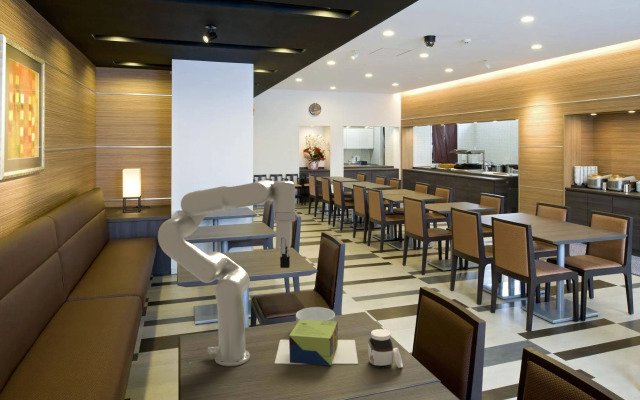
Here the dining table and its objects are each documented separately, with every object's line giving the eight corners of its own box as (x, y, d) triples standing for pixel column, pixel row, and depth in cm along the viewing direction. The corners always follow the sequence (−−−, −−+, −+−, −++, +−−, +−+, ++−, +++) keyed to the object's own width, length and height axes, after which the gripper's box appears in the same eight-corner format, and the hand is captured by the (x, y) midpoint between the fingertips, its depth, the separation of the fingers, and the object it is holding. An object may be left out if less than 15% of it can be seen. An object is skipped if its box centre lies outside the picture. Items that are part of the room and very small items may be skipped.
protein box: (331, 338, 161) (337, 321, 176) (288, 335, 164) (298, 318, 179) (331, 366, 163) (338, 347, 178) (289, 363, 166) (299, 344, 181)
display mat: (274, 363, 165) (274, 363, 165) (280, 340, 185) (280, 339, 185) (358, 364, 165) (358, 363, 165) (354, 340, 185) (354, 339, 185)
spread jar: (365, 358, 169) (365, 328, 168) (394, 355, 172) (394, 325, 170) (377, 374, 158) (377, 342, 156) (407, 370, 160) (408, 338, 159)
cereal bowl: (293, 323, 203) (293, 308, 202) (330, 320, 206) (330, 305, 205) (298, 339, 186) (298, 322, 185) (339, 336, 189) (339, 319, 188)
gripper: (276, 213, 168) (276, 262, 170) (271, 219, 153) (272, 273, 156) (296, 213, 168) (296, 262, 170) (293, 219, 153) (294, 273, 156)
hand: (285, 267), depth 163 cm, fingers closed
